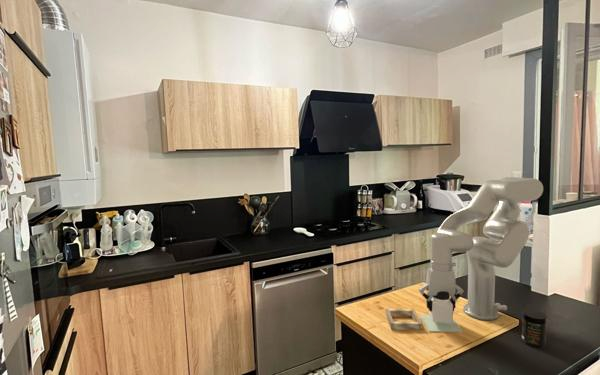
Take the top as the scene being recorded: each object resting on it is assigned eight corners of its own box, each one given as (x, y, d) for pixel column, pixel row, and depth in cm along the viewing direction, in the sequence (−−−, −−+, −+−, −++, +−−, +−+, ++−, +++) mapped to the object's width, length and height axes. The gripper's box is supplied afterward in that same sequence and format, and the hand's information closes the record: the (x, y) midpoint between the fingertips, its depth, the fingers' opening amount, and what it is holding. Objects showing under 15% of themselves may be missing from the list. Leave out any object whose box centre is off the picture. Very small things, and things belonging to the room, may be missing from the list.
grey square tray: (413, 315, 133) (413, 309, 132) (421, 330, 121) (421, 323, 121) (385, 314, 134) (385, 309, 133) (391, 329, 122) (390, 323, 122)
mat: (450, 316, 131) (450, 315, 131) (462, 332, 119) (462, 331, 119) (420, 315, 132) (420, 315, 132) (429, 331, 120) (429, 330, 120)
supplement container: (549, 350, 107) (550, 320, 106) (526, 347, 109) (527, 317, 108) (540, 338, 113) (541, 310, 112) (518, 336, 115) (519, 308, 114)
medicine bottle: (453, 323, 121) (453, 292, 120) (432, 322, 122) (433, 291, 121) (448, 314, 128) (448, 285, 127) (429, 313, 129) (429, 284, 128)
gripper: (460, 262, 126) (460, 305, 128) (415, 262, 127) (415, 305, 129) (469, 269, 119) (468, 314, 120) (420, 269, 120) (420, 314, 122)
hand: (440, 309), depth 125 cm, fingers open, 7 cm apart
